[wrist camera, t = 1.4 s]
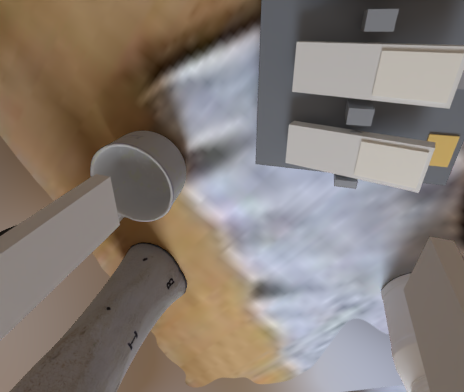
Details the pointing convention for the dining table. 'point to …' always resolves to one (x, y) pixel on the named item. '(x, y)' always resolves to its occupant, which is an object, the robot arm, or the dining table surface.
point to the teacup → (142, 174)
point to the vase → (110, 326)
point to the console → (349, 109)
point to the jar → (403, 336)
